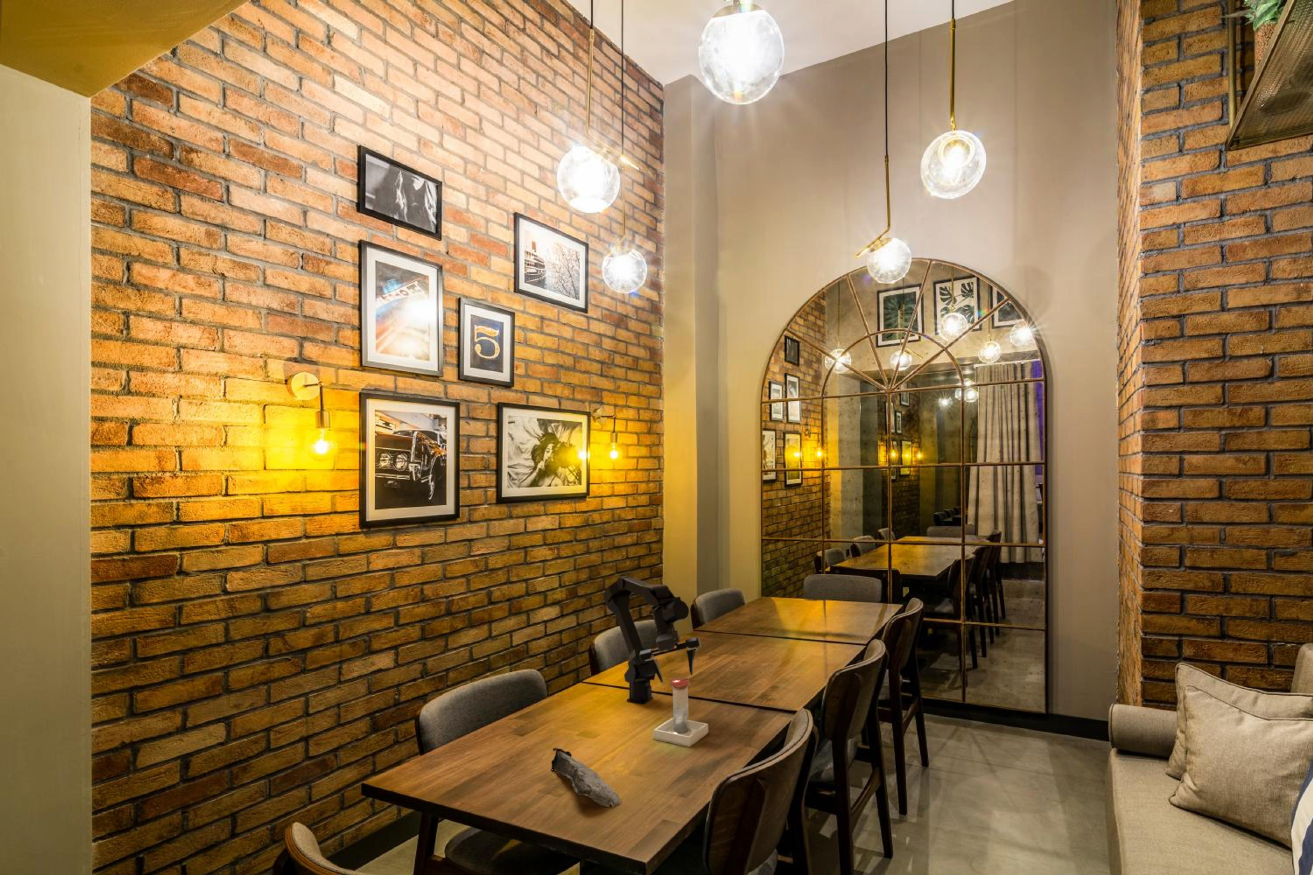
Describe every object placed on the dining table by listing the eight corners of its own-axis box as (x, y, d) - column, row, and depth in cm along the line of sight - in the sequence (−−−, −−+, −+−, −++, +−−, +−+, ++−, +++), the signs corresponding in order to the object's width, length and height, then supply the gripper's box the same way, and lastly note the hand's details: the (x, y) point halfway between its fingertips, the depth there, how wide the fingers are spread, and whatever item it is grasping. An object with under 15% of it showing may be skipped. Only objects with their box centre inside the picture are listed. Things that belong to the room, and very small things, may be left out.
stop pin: (666, 732, 186) (665, 678, 187) (684, 728, 189) (683, 675, 190) (677, 739, 181) (676, 684, 182) (696, 734, 184) (695, 680, 185)
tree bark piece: (565, 776, 169) (536, 757, 166) (586, 746, 171) (557, 727, 168) (604, 836, 144) (571, 815, 141) (628, 800, 147) (596, 778, 143)
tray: (653, 739, 183) (653, 729, 183) (673, 725, 192) (673, 716, 193) (689, 746, 177) (689, 737, 177) (708, 732, 187) (708, 723, 187)
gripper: (630, 632, 198) (641, 687, 193) (690, 617, 197) (703, 671, 191) (638, 634, 209) (649, 685, 203) (695, 619, 207) (708, 670, 202)
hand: (676, 678), depth 200 cm, fingers open, 9 cm apart
